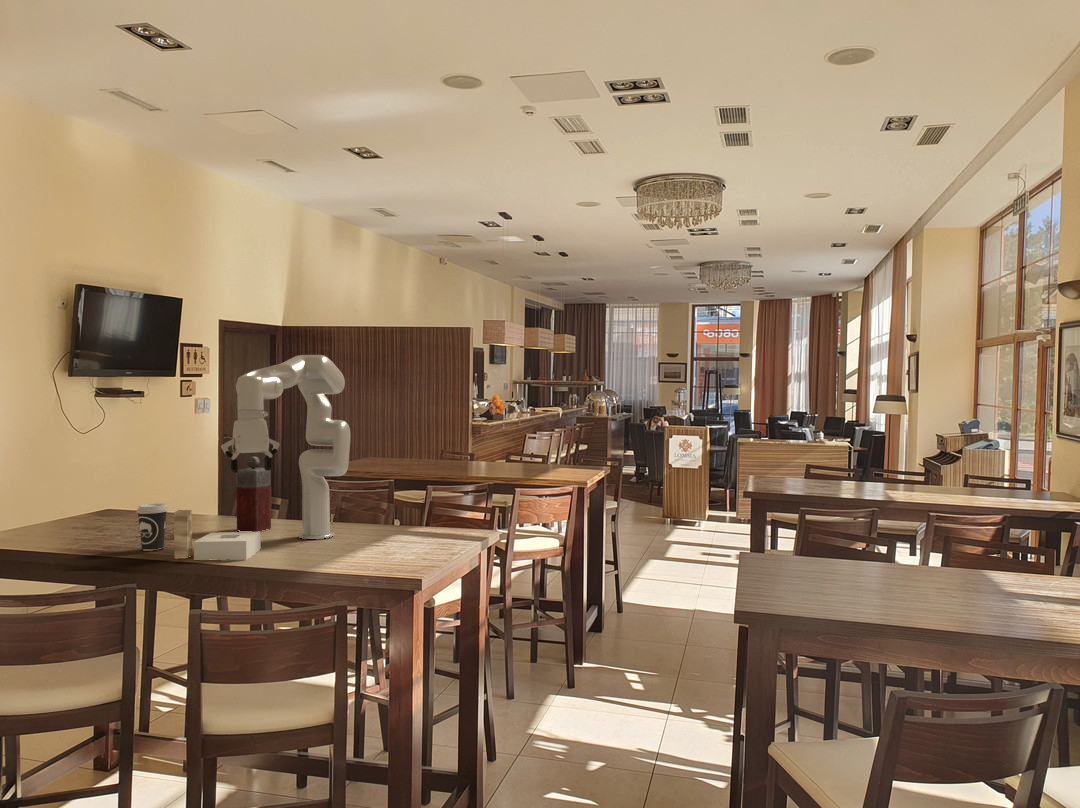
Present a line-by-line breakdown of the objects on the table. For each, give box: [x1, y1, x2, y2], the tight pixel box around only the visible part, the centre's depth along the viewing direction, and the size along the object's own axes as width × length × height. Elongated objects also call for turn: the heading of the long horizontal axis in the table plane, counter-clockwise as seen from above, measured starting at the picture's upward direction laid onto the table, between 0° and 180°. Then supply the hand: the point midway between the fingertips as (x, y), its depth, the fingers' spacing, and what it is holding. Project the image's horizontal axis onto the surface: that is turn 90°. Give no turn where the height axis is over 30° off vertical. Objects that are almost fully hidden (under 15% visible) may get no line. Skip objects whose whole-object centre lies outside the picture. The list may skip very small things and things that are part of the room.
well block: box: [193, 531, 262, 561], centre depth 255 cm, size 16×16×6 cm
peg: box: [173, 509, 193, 558], centre depth 250 cm, size 4×4×15 cm
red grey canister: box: [235, 456, 272, 532], centre depth 300 cm, size 9×11×28 cm
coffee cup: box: [135, 503, 169, 550], centre depth 263 cm, size 10×10×15 cm
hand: (251, 471), depth 243 cm, fingers open, 9 cm apart
